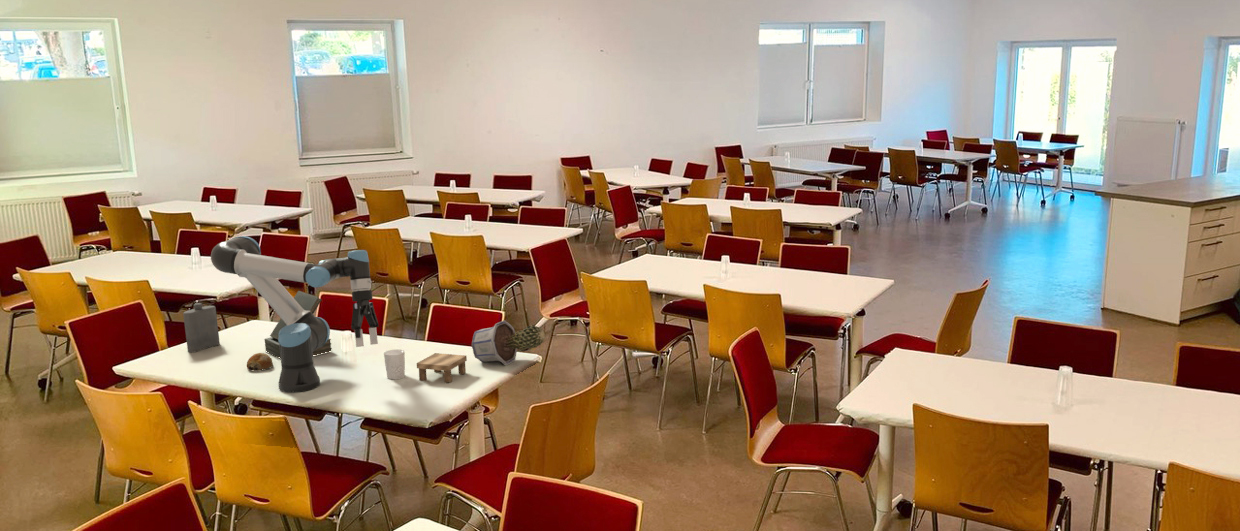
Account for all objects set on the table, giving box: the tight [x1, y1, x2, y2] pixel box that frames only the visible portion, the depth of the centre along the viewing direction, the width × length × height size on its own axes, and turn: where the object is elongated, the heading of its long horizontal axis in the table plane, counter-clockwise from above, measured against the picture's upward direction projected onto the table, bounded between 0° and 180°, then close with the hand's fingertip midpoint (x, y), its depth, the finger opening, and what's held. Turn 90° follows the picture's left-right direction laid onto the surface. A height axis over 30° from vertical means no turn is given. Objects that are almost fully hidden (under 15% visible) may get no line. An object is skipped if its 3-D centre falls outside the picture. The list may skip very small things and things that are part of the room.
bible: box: [264, 290, 333, 359], centre depth 413 cm, size 23×20×25 cm
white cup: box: [383, 349, 406, 380], centre depth 376 cm, size 8×8×10 cm
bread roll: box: [246, 352, 274, 371], centre depth 394 cm, size 10×10×8 cm
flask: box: [182, 302, 220, 353], centre depth 424 cm, size 15×6×20 cm, turn 149°
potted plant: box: [471, 319, 546, 366], centre depth 389 cm, size 18×18×30 cm
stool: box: [416, 352, 467, 384], centre depth 375 cm, size 14×14×7 cm
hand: (367, 345), depth 369 cm, fingers open, 13 cm apart
